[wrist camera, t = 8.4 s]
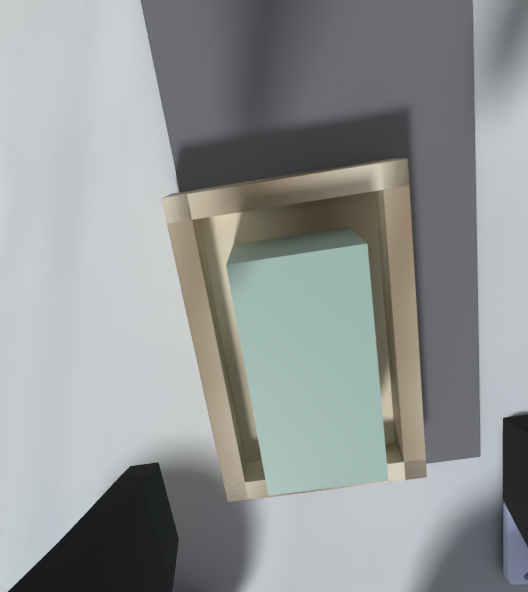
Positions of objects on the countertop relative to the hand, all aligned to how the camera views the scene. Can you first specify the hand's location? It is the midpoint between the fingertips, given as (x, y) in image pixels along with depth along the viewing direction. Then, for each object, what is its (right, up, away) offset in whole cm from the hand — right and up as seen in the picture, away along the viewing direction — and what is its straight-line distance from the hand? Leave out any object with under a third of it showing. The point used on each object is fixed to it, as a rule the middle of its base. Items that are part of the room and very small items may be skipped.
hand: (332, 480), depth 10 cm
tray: (0, +2, +8) cm, 8 cm away
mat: (+1, +6, +7) cm, 9 cm away
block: (0, +2, +7) cm, 8 cm away
